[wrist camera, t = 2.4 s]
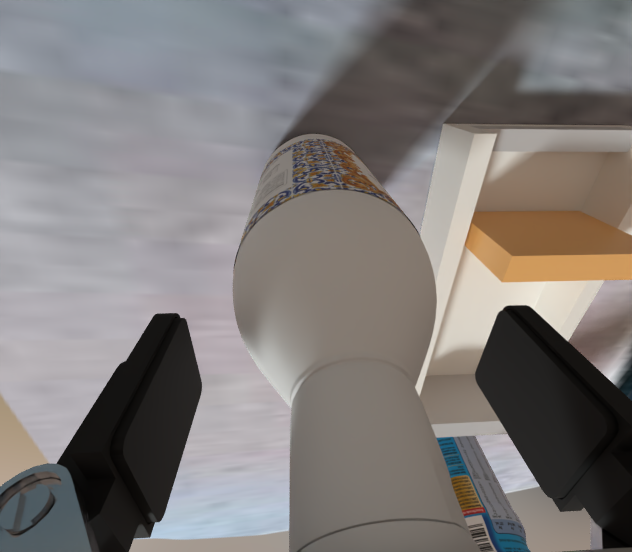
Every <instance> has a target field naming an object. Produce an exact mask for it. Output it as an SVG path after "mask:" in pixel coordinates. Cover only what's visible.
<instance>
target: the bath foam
mask: <svg viewBox="0 0 632 552" xmlns="http://www.w3.org/2000/svg"><path fill="white" fill-rule="evenodd" d="M233 303H234V311H235V316H236V321H237V325H238V328H239V331H240V334H241V337H242V339H243V341H244V344H245V346H246V348H247V350H248V352H249V354H250V355H251V357H252V358H253V360H254V362H255V363H256V365H257V366H258V368H259V369H260V370H261V372H262V373H263V375H264V376H265V377H266V378H267V380H268V381H269V382H270V383H271V385H272V386H273V387H274V388H275V390H276V391H277V392H278V393H279V395H280V396H281V397H282V398H283V399H284V401H285V402H286V403H287V404H288V405H289V407H290V408H291V424H290V527H289V535H290V536H289V552H481V551H480V548H479V547H478V545H477V543H476V542H475V541H474V540H473V538H472V536H471V533H470V531H469V528H468V525H467V523H466V520H465V518H464V515H463V513H462V510H461V507H460V505H459V502H458V500H457V497H456V494H455V492H454V489H453V486H452V482H451V478H450V474H449V471H448V468H447V465H446V462H445V460H444V457H443V454H442V452H441V449H440V446H439V444H438V441H437V439H436V436H435V434H434V431H433V429H432V426H431V423H430V421H429V419H428V416H427V414H426V411H425V409H424V406H423V404H422V402H421V399H420V397H419V395H418V393H417V391H416V389H415V387H416V384H417V381H418V378H419V375H420V372H421V370H422V367H423V364H424V361H425V358H426V355H427V352H428V349H429V345H430V342H431V338H432V334H433V329H434V324H435V319H436V308H437V294H436V283H435V277H434V272H433V268H432V265H431V261H430V258H429V255H428V253H427V250H426V248H425V246H424V244H423V242H422V240H421V237H420V235H419V233H418V231H417V230H416V228H415V226H414V225H413V224H412V222H411V221H410V220H409V219H408V217H407V216H406V215H405V214H404V212H403V211H402V210H401V209H400V208H399V206H398V205H397V204H396V203H395V201H394V200H393V199H392V198H391V196H390V195H389V194H388V193H387V192H386V190H385V189H384V188H383V187H382V185H381V184H380V183H379V182H378V180H377V179H376V178H375V177H374V176H373V174H372V173H371V172H370V171H369V169H368V168H367V167H366V166H365V164H364V163H363V162H362V161H361V160H360V158H359V157H358V156H357V155H356V154H355V153H354V152H353V151H352V150H351V149H350V148H349V147H348V146H347V145H346V144H344V143H343V142H341V141H340V140H338V139H336V138H333V137H330V136H327V135H322V134H306V135H301V136H298V137H295V138H293V139H291V140H289V141H287V142H286V143H284V144H283V145H281V146H280V147H279V148H278V149H276V150H275V151H274V153H273V154H272V155H271V156H270V158H269V159H268V161H267V163H266V165H265V167H264V169H263V172H262V175H261V178H260V181H259V184H258V187H257V190H256V194H255V197H254V200H253V203H252V207H251V210H250V213H249V216H248V220H247V223H246V226H245V229H244V233H243V236H242V239H241V242H240V246H239V249H238V252H237V255H236V259H235V264H234V274H233Z"/></svg>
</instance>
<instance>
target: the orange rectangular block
mask: <svg viewBox="0 0 632 552" xmlns="http://www.w3.org/2000/svg"><path fill="white" fill-rule="evenodd" d="M464 245H465V246H466V247H467V248H468V249H469V250H470V251H471V252H472V253H473V254H474V255H475V256H476V257H477V258H478V259H479V260H480V261H481V262H482V263H483V264H484V265H485V266H486V267H487V268H488V269H489V270H490V271H491V272H492V273H493V274H494V275H495V276H496V277H497V278H498V279H499V280H500V281H501V282H544V281H589V280H632V235H630V234H628V233H626V232H623V231H621V230H619V229H617V228H615V227H613V226H611V225H609V224H606V223H604V222H602V221H600V220H598V219H596V218H594V217H592V216H589V215H587V214H585V213H583V212H581V211H496V212H474V214H473V217H472V220H471V224H470V227H469V231H468V234H467V237H466V241H465V244H464Z"/></svg>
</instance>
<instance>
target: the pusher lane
mask: <svg viewBox="0 0 632 552" xmlns="http://www.w3.org/2000/svg"><path fill="white" fill-rule="evenodd" d="M496 211H581V212H583V213H585V214H587V215H589V216H592V217H594V218H596V219H598V220H600V221H602V222H604V223H606V224H609V225H611V226H613V227H615V228H617V229H619V230H621V231H623V232H626V233H628V234H630V235H632V126H626V125H533V124H443V127H442V131H441V136H440V141H439V146H438V151H437V155H436V160H435V165H434V170H433V175H432V179H431V184H430V189H429V194H428V199H427V204H426V208H425V213H424V218H423V223H422V228H421V232H420V237H421V240H422V242H423V244H424V246H425V248H426V250H427V253H428V255H429V258H430V261H431V265H432V268H433V272H434V277H435V283H436V294H437V308H436V319H435V324H434V329H433V334H432V338H431V342H430V345H429V349H428V352H427V355H426V358H425V361H424V364H423V367H422V370H421V372H420V375H419V378H418V381H417V384H416V387H415V389H416V391H417V393H418V395H419V397H420V399H421V402H422V404H423V406H424V409H425V411H426V414H427V416H428V419H429V421H430V423H431V426H432V429H433V431H434V434H435V436H436V438H440V437H459V436H477V435H496V434H508V433H507V432H506V430H505V428H504V427H503V425H502V424H501V422H500V420H499V419H498V417H497V415H496V414H495V412H494V411H493V409H492V407H491V406H490V404H489V402H488V401H487V399H486V398H485V396H484V394H483V393H482V391H481V389H480V388H479V386H478V385H477V382H476V379H475V372H476V369H477V366H478V364H479V361H480V359H481V356H482V353H483V351H484V348H485V346H486V343H487V340H488V338H489V335H490V332H491V330H492V327H493V325H494V322H495V319H496V317H497V314H498V313H499V312H500V311H502V310H503V308H504V307H505V306H508V305H527V306H530V307H531V308H532V309H533V310H535V311H536V312H537V313H538V314H539V315H540V316H541V317H542V318H543V319H544V320H545V321H546V322H547V323H549V324H550V325H551V326H552V327H553V328H554V329H555V330H556V331H557V332H558V333H559V334H560V335H561V336H562V337H564V338H565V339H566V340H567V341H569V339H570V337H571V336H572V334H573V332H574V331H575V329H576V327H577V326H578V324H579V322H580V321H581V319H582V317H583V316H584V314H585V312H586V311H587V309H588V307H589V305H590V304H591V302H592V300H593V299H594V297H595V295H596V294H597V292H598V290H599V289H600V287H601V285H602V284H603V282H604V280H589V281H544V282H501V281H500V280H499V279H498V278H497V277H496V276H495V275H494V274H493V273H492V272H491V271H490V270H489V269H488V268H487V267H486V266H485V265H484V264H483V263H482V262H481V261H480V260H479V259H478V258H477V257H476V256H475V255H474V254H473V253H472V252H471V251H470V250H469V249H468V248H467V247H466V246H465V245H464V244H465V241H466V237H467V234H468V231H469V227H470V224H471V220H472V217H473V214H474V212H496Z"/></svg>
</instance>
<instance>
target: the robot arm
mask: <svg viewBox="0 0 632 552" xmlns="http://www.w3.org/2000/svg"><path fill="white" fill-rule="evenodd" d="M475 379H476V382H477V385H478V386H479V388H480V389H481V391H482V393H483V394H484V396H485V398H486V399H487V401H488V402H489V404H490V406H491V407H492V409H493V411H494V412H495V414H496V415H497V417H498V419H499V420H500V422H501V424H502V425H503V427H504V428H505V430H506V432H507V433H508V435H509V437H510V438H511V440H512V441H513V443H514V445H515V446H516V448H517V450H518V451H519V453H520V455H521V456H522V458H523V459H524V461H525V463H526V464H527V466H528V468H529V469H530V471H531V472H532V474H533V476H534V477H535V479H536V481H537V482H538V484H539V485H540V487H541V489H542V490H543V491H544V493H545V494H546V495H547V496H548V497H550V498H552V499H553V501H554V502H555V504H556V505H557V507H558V509H559V510H560V512H564V511H580V510H582V509H583V508H585V509H586V511H587V512H588V513H589V515H590V516H591V550H582V551H581V550H580V551H564V552H632V401H631V400H630V399H629V398H628V397H627V396H626V395H625V394H624V393H623V392H622V391H620V390H619V389H618V388H617V387H616V386H615V385H614V384H613V383H612V382H611V381H610V380H609V379H608V378H606V377H605V376H604V375H603V374H602V373H601V372H600V371H599V370H598V369H597V368H596V367H595V366H594V365H593V364H591V363H590V362H589V361H588V360H587V359H586V358H585V357H584V356H583V355H582V354H581V353H580V352H579V351H577V350H576V349H575V348H574V347H573V346H572V345H571V344H570V343H569V342H568V341H567V340H566V339H565V338H564V337H562V336H561V335H560V334H559V333H558V332H557V331H556V330H555V329H554V328H553V327H552V326H551V325H550V324H549V323H547V322H546V321H545V320H544V319H543V318H542V317H541V316H540V315H539V314H538V313H537V312H536V311H535V310H533V309H532V308H531V307H530V306H527V305H508V306H505V307H504V308H503V310H502V311H500V312H499V313H498V314H497V317H496V319H495V322H494V325H493V327H492V330H491V332H490V335H489V338H488V340H487V343H486V346H485V348H484V351H483V353H482V356H481V359H480V361H479V364H478V366H477V369H476V372H475ZM201 391H202V382H201V378H200V374H199V369H198V365H197V361H196V357H195V353H194V349H193V345H192V341H191V337H190V333H189V329H188V325H187V321H186V319H185V318H180V316H179V314H177V313H166V314H155V315H154V317H153V318H152V320H151V321H150V323H149V325H148V326H147V328H146V329H145V331H144V333H143V334H142V336H141V338H140V339H139V341H138V342H137V344H136V346H135V347H134V349H133V351H132V352H131V354H130V356H129V357H128V359H127V360H126V361H124V362H123V363H121V364H120V365H119V366H118V367H117V369H116V370H115V372H114V373H113V375H112V377H111V378H110V380H109V381H108V383H107V385H106V386H105V388H104V389H103V391H102V392H101V394H100V396H99V397H98V399H97V400H96V402H95V404H94V405H93V407H92V408H91V410H90V411H89V413H88V415H87V416H86V418H85V419H84V421H83V422H82V424H81V426H80V427H79V429H78V430H77V432H76V434H75V435H74V437H73V438H72V440H71V441H70V443H69V445H68V446H67V448H66V449H65V451H64V453H63V454H62V456H61V457H60V459H59V460H58V462H57V464H43V465H40V466H35V467H32V468H30V469H28V470H26V471H24V472H21V473H19V474H18V475H16V476H15V477H13V478H12V479H10V480H9V481H7V482H6V483H4V484H3V485H2V486H1V487H0V552H129V549H130V547H131V544H132V541H133V539H134V538H148V537H150V536H151V533H152V530H153V527H154V524H155V522H160V521H161V520H162V518H163V516H164V513H165V510H166V507H167V504H168V500H169V497H170V494H171V491H172V487H173V484H174V481H175V477H176V474H177V471H178V468H179V464H180V461H181V458H182V454H183V451H184V448H185V445H186V441H187V438H188V435H189V432H190V428H191V425H192V422H193V418H194V415H195V412H196V409H197V405H198V402H199V399H200V395H201Z"/></svg>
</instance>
